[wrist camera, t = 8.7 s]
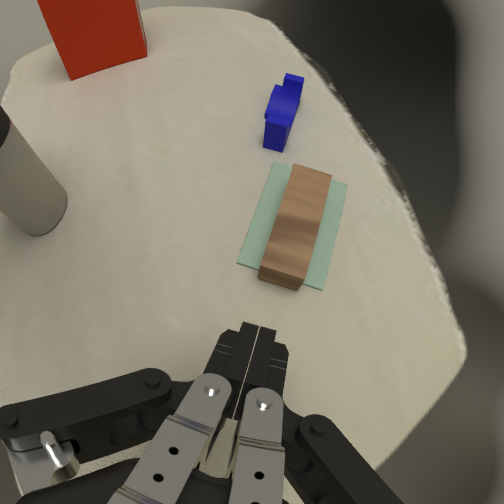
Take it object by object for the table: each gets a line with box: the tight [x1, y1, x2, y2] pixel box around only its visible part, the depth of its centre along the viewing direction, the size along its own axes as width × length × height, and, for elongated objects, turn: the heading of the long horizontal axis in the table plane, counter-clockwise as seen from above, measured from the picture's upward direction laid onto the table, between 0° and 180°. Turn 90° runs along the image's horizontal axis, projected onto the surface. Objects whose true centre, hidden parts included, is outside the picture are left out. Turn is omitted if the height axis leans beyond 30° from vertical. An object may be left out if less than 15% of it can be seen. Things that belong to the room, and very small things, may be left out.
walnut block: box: [258, 164, 332, 290], centre depth 39 cm, size 5×5×14 cm
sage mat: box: [237, 161, 347, 290], centre depth 42 cm, size 16×11×1 cm
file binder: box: [37, 0, 147, 80], centre depth 40 cm, size 8×17×32 cm, turn 105°
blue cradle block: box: [263, 73, 304, 153], centre depth 46 cm, size 12×4×6 cm, turn 163°
